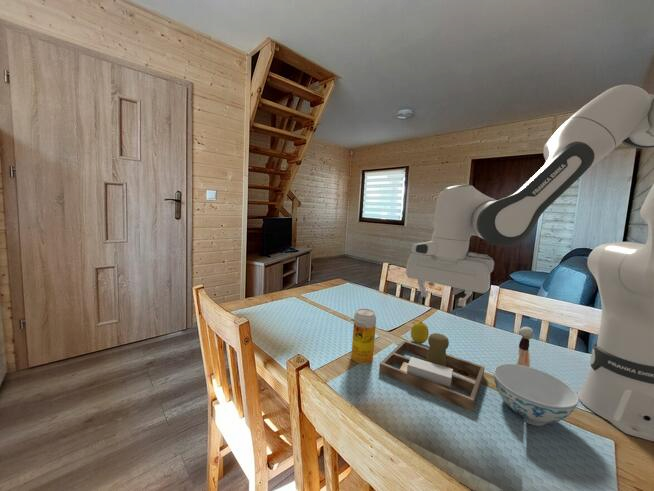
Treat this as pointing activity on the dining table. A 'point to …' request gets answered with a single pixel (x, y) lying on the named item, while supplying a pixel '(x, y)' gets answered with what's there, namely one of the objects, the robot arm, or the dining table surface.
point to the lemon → (419, 332)
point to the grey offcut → (430, 371)
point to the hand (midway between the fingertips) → (442, 301)
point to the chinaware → (534, 394)
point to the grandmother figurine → (524, 346)
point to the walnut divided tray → (430, 386)
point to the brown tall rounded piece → (437, 349)
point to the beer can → (363, 336)
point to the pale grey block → (404, 368)
